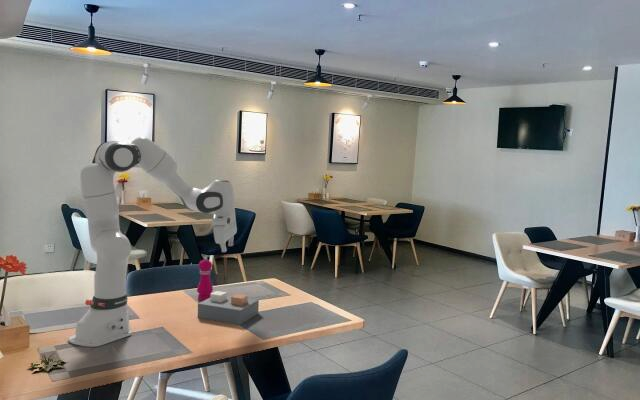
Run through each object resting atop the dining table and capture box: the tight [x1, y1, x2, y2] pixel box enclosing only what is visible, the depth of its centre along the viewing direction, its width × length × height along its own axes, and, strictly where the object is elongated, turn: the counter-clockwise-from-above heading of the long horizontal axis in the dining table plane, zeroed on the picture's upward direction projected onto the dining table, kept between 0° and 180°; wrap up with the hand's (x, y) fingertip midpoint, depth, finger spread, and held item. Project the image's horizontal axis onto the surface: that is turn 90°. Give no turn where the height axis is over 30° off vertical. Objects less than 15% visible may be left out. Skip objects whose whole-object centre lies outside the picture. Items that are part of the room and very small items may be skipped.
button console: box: [197, 294, 260, 325], centre depth 217 cm, size 16×20×6 cm
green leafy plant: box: [29, 351, 64, 371], centre depth 163 cm, size 12×12×5 cm
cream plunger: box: [210, 290, 228, 303], centre depth 219 cm, size 5×5×5 cm
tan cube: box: [231, 293, 249, 306], centre depth 215 cm, size 5×5×5 cm
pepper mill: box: [196, 256, 214, 301], centre depth 239 cm, size 7×7×20 cm
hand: (227, 248), depth 220 cm, fingers open, 8 cm apart
